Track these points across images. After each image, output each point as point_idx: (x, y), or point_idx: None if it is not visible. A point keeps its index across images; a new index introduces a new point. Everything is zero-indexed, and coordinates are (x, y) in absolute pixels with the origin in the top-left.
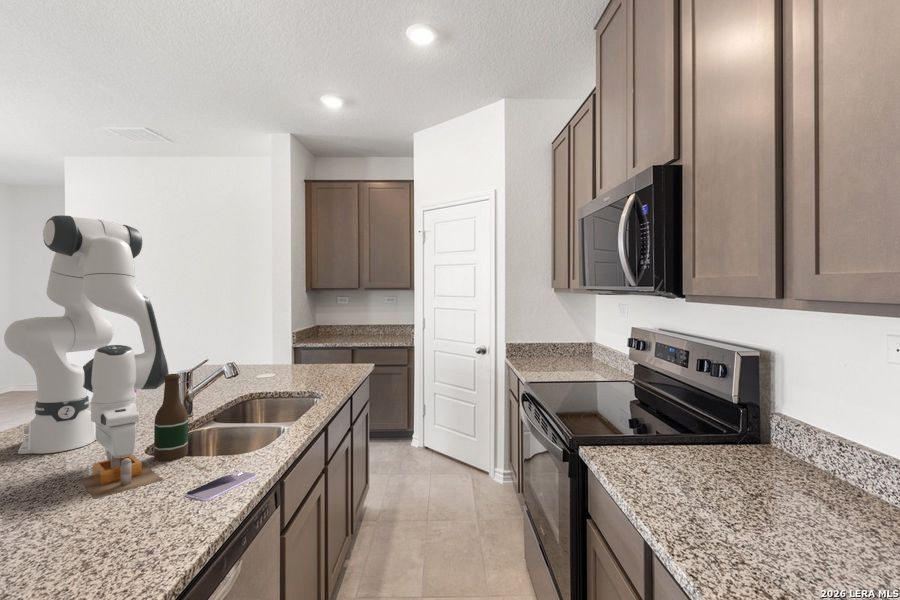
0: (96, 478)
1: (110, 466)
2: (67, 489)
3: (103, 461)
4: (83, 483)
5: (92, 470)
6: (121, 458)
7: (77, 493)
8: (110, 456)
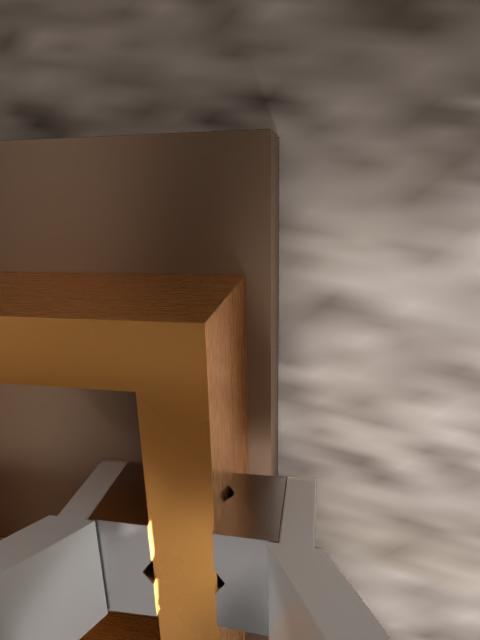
0: (35, 276)
1: (128, 468)
2: (216, 17)
3: (185, 462)
4: (38, 148)
5: (233, 291)
6: (164, 636)
7: (21, 93)
8: (275, 597)
